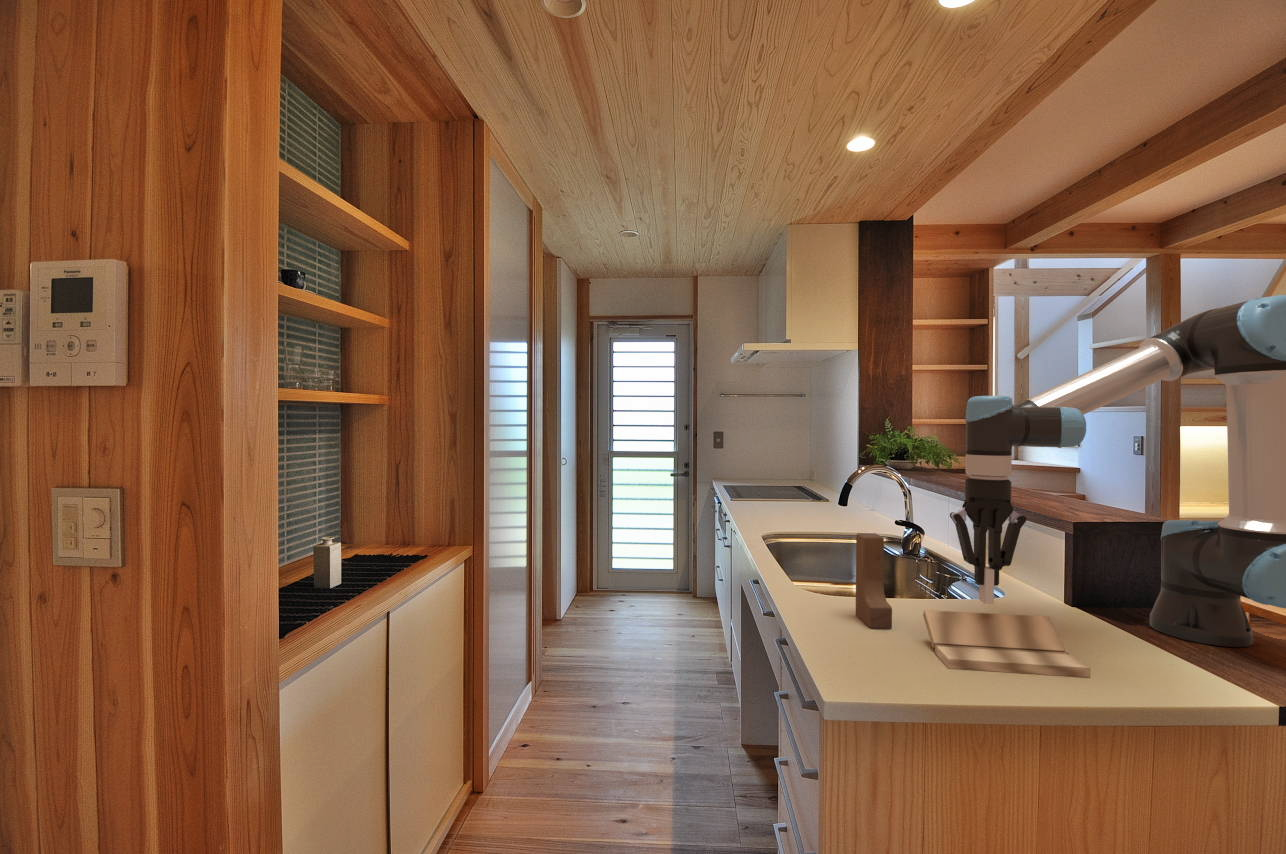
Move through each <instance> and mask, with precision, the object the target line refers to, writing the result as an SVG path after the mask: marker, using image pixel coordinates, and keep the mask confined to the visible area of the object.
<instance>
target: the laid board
mask: <svg viewBox="0 0 1286 854" xmlns="http://www.w3.org/2000/svg"><path fill="white" fill-rule="evenodd" d="M934 649H935V650H934V651H935V652H934V653H935V655H936V656H937V657H938V658H939V660H940V661H941V662H942V663H943V664H944V665H945V666H946V667H947V668H948V669H952V670H955V669H956V670H970V671H983V672H984V671H985V672H1000V673H1001V672H1002V673H1014V674H1015V673H1016V674H1027V675H1028V674H1031V675H1044V676H1045V675H1047V676H1062V677H1075V678H1076V677H1077V678H1090V679H1091V667H1090V666H1089V665H1087V664H1085V663H1083V662H1082V661H1081V660H1080V659H1077V658H1076V657H1074V656H1073V655H1072V654H1070V653H1069V652H1066V651H1065V652H1049V651H1032V650H1016V649H999V648H983V647H966V646H950V645H935V648H934Z"/></svg>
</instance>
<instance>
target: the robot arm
mask: <svg viewBox="0 0 1286 854" xmlns="http://www.w3.org/2000/svg"><path fill="white" fill-rule="evenodd" d="M1212 370H1214V378H1215V379H1216V380H1217V381H1220V382H1221V383H1223V384H1224V385H1225V386H1226V390H1225V391H1226V423H1227V424H1226V428H1227V431H1226V433H1227V436H1226V437H1227V474H1228V475H1227V479H1228V480H1227V481H1228V483H1227V484H1228V487H1227V488H1228V515H1227V516H1226V517H1224V518H1223V519H1222V520H1197V519H1196V520H1193V519H1192V520H1190V519H1169V520H1166V521H1164V522H1163V524H1162V527H1161V534H1160V542H1161V543H1160V545H1161V548H1160V549H1161V551H1160V553H1161V559H1160V560H1161V562H1160V564H1161V565H1160V570H1161V571H1160V576H1161V577H1160V578H1161V579H1160V580H1161V581H1160V590H1159V591H1160V592H1159V594H1158V597H1157V598H1156V600H1155V602H1154V605H1153V608H1152V610H1151V611H1150V613H1149V626H1150V627H1151V628H1152V629H1153V630H1155V631H1157V632H1159V633H1163V634H1165V635H1166V636H1167V635H1168V636H1171V637H1173V638H1174V637H1175V638H1178V639H1181V640H1186V641H1189V642H1195V643H1199V644H1205V645H1211V646H1217V647H1218V646H1220V647H1226V648H1227V647H1229V648H1230V647H1231V648H1244V647H1251V646H1252V645H1253V644H1254V631H1253V629H1252V627H1251V624H1250V622H1249V619H1248V617H1247V614H1246V612H1245V609H1244V606H1243V605H1242V599H1241V598H1242V597H1243V598H1246V599H1249V600H1251V601H1253V602H1255V603H1258V604H1261V605H1266V606H1272V607H1277V608H1281V609H1286V294H1279V295H1272V296H1264V297H1258V298H1256V297H1255V298H1252V299H1250V300H1245V301H1242V302H1237V303H1234V304H1231V305H1226V306H1223V307H1219V308H1213V309H1209V310H1206V311H1203V312H1200V313H1197V314H1195V315H1193V316H1191V317H1190V316H1189V318H1186V319H1185V320H1183V321H1180V322H1178V323H1177V324H1174V325H1172V326H1171V327H1168V328H1167V329H1164V330H1163V331H1161V332H1158V333H1157V334H1155V335H1153V336H1151V337H1148V338H1146V339H1144V340H1142V341H1141V343H1140V344H1139V347H1138V348H1137V349H1135V350H1132V351H1129V352H1127V353H1125V354H1123V355H1120V356H1119V357H1117V358H1115V359H1113V360H1111V361H1108V362H1106V363H1104V364H1102V365H1100V366H1097V367H1094V368H1093V369H1091V370H1089V371H1087V372H1084V373H1082V374H1079V375H1077V376H1075V377H1073V378H1071V379H1069V380H1066V381H1064V382H1061V383H1060V384H1058V385H1055V386H1053V387H1051V388H1049V389H1047V390H1045V391H1042V392H1040V393H1038V394H1036V395H1034V396H1031V397H1030V398H1027V399H1025V400H1024V401H1022V402H1021V401H1020V402H1017V403H1016V404H1014V402H1013V398H1012V397H1011V396H1008V395H979V396H978V395H976V396H972V397H970V398H969V399H968V401H967V403H966V409H965V410H966V411H965V420H964V421H965V474H966V475H967V476H968V477H966V478H965V480H964V481H965V482H964V486H965V488H964V497H965V498H964V499H965V500H964V502H963V504H962V505H961V506H962V508H960V509H959V510H957V511H955V512H953V511H952V512H950V513H949V518H950V519H951V520H952V522H953V523H954V525H955V530H956V533H957V537H958V541H959V545H960V546H959V547H960V549H961V555H962V558H963V561H964V562H966V563H967V564H969V565H972V566H973V567H974V573H973V574H974V583H975V584H977V585H978V588H979V590H978V591H979V593H978V595H979V596H978V600H979V601H980V602H981V603H984V604H985V605H994V604H995V586H997V587H998V586H999V584H1000V571H1001V570H1002V569H1003V567H1009V566H1011V564H1012V562H1013V557H1014V555H1015V550H1016V546H1017V544H1018V539H1019V535H1020V532H1021V529H1022V527H1023V526H1024V524H1026V522H1027V520H1028V518H1027V517H1026V516H1025V515H1021V514H1020V513H1018V512H1017V511H1015V510H1014V505H1012V502H1011V500H1012V481H1011V480H1010V479H1008V478H1010V477H1011V476H1012V464H1013V462H1012V458H1013V457H1012V455H1013V453H1012V451H1013V447H1017V448H1018V447H1030V448H1033V447H1034V448H1058V449H1061V448H1074V447H1077V446H1079V445H1080V444H1082V442H1083V441H1084V439H1085V437H1086V434H1087V420H1086V417H1085V415H1087V414H1089V413H1091V412H1093V411H1095V410H1097V409H1100V408H1102V407H1104V406H1107V405H1108V404H1109V405H1110V404H1111V403H1113V402H1115V401H1118V400H1121V399H1122V398H1124V397H1126V396H1129V395H1131V394H1134V393H1135V392H1138V391H1140V390H1143V389H1145V388H1146V387H1149V386H1151V385H1154V384H1156V383H1159V382H1160V381H1165V382H1173V381H1175V380H1179V379H1180V378H1182V377H1185V376H1188V375H1191V374H1195V373H1202V372H1206V371H1212ZM967 517H968V518H969V520H970V521H971V523H972V529H973V545H972V542H971V538H970V537H971V536H970V533H969V530H968V526H967V523H966V521H967ZM1007 520H1008V524H1007V525H1006V531H1005V533H1004V537H1003V541H1002V532H1003V525H1004V523H1005V522H1006V521H1007ZM987 535H988V537H987ZM972 546H973V547H972ZM986 561H987V562H986ZM986 563H987V564H988V565H987V564H986Z"/></svg>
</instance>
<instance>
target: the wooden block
mask: <svg viewBox="0 0 1286 854" xmlns="http://www.w3.org/2000/svg"><path fill="white" fill-rule="evenodd" d="M855 536H856V541H855V542H856V544H855V547H856V549H855V552H856V553H855V556H856V557H855V558H856V559H855V565H856V566H855V615H856V617H858V618H859V620H861V621H862V622H863V623H864V624H865V625H866V626H868V627H869V629H872V630H873V629H874V630H875V629H876V630H879V629H880V630H881V629H884V630H891V629H892V628H893V608H892V606H891V604H889V602H887V599H886V595H885V587H884V568H885V567H884V561H885V560H884V557H885V556H884V555H885V552H884V551H885V550H884V549H885V548H884V547H885V544H884V543H885V539H884V537H883V536H881V535H879V534H878V533H868V532H867V533H862V532H859V533H856V535H855Z"/></svg>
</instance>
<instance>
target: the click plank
mask: <svg viewBox="0 0 1286 854" xmlns="http://www.w3.org/2000/svg"><path fill="white" fill-rule="evenodd" d="M922 617H923V620H924V623H925V626H926V630H927V633H928V637H929V640H930V641H929V642H930V644H931V648H934V649H935V645H950V646H966V647H983V648H999V649H1016V650H1032V651H1049V652H1065V653H1066V651H1067V650H1066V649H1065V646H1064V644H1063V642H1062V640H1061V637H1060V636H1059V634H1058V631H1057V630H1056V628H1055V625H1054V623H1053V622H1052V619H1051V617H1050V616H1046V615H1045V616H1044V615H1043V616H1041V615H1028V614H1027V615H1026V614H1025V615H1024V614H1023V615H1022V614H1005V613H989V612H971V611H969V612H968V611H950V610H949V611H948V610H947V611H946V610H927V609H924V610H923V614H922Z"/></svg>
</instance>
